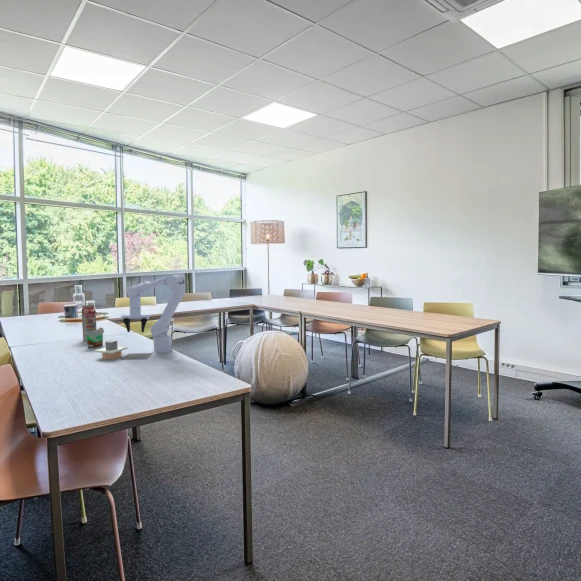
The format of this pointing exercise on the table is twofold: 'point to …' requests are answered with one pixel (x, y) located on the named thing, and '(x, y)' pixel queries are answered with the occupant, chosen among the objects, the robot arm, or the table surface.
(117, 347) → the sheet lid
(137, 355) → the mat
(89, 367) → the table surface
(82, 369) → the table surface
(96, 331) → the food container
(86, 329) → the juice carton
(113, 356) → the tan bowl
